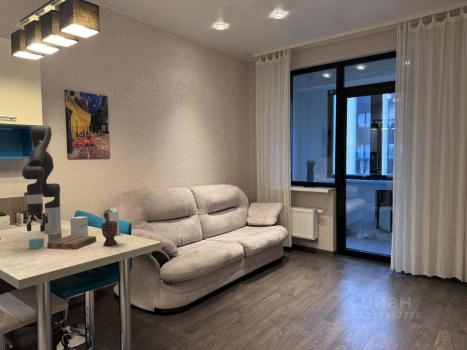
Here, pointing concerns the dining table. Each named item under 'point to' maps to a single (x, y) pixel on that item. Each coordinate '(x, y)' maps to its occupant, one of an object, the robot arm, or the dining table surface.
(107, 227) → the mortar and pestle
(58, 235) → the charcoal block
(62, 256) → the dining table surface
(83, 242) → the walnut base
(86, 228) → the supplement box
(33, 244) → the teal block
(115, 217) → the milk carton
